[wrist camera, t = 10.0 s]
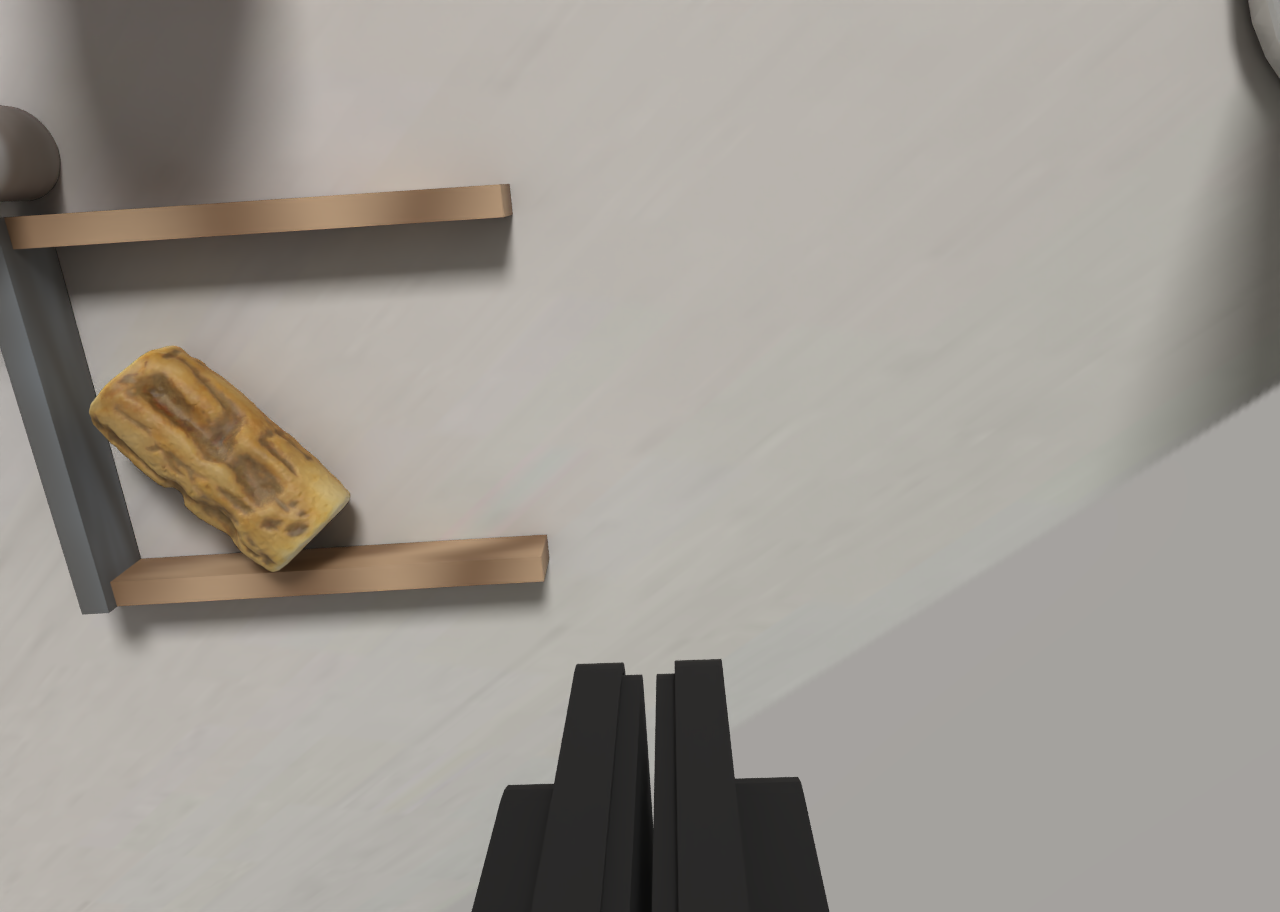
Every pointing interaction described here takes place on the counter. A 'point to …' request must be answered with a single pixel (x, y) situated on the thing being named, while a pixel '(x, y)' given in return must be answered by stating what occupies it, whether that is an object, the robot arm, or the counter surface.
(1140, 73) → the counter surface
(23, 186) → the bay
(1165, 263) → the counter surface
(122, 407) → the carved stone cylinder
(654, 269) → the counter surface
